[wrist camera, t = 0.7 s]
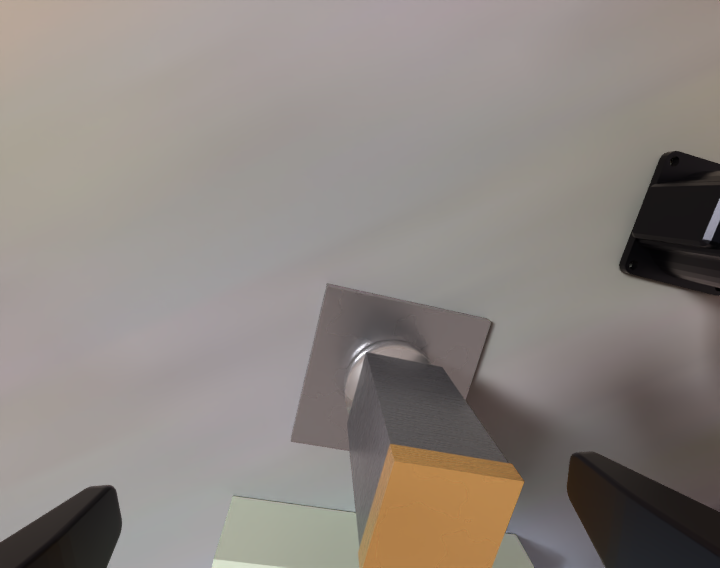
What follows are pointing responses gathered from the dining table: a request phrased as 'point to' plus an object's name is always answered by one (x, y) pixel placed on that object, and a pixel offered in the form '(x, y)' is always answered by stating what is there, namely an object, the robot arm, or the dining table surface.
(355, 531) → the bin
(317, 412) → the stud
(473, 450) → the strut
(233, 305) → the dining table surface
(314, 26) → the dining table surface
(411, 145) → the dining table surface
